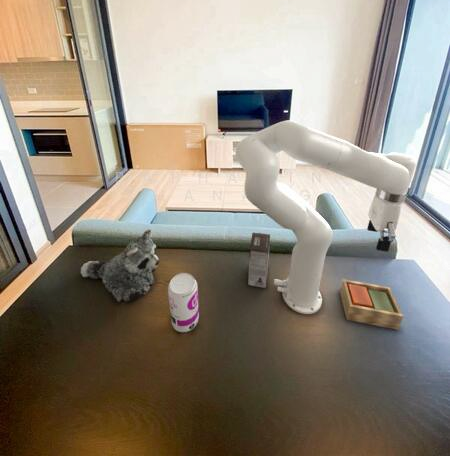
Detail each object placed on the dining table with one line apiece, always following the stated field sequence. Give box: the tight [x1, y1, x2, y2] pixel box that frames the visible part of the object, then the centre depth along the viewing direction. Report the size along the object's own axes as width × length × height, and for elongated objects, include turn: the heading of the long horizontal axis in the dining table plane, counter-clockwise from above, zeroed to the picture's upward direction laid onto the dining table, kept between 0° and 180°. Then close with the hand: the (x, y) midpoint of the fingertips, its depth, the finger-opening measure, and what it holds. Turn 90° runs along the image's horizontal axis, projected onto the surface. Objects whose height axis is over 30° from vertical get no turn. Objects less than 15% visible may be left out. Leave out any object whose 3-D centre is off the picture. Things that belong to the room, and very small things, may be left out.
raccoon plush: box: [80, 228, 160, 303], centre depth 82 cm, size 15×32×21 cm, turn 89°
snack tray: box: [339, 279, 404, 330], centre depth 76 cm, size 14×10×6 cm
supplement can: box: [167, 272, 200, 333], centre depth 71 cm, size 8×8×15 cm
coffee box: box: [247, 232, 271, 289], centre depth 86 cm, size 9×6×16 cm
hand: (376, 239), depth 80 cm, fingers open, 9 cm apart
